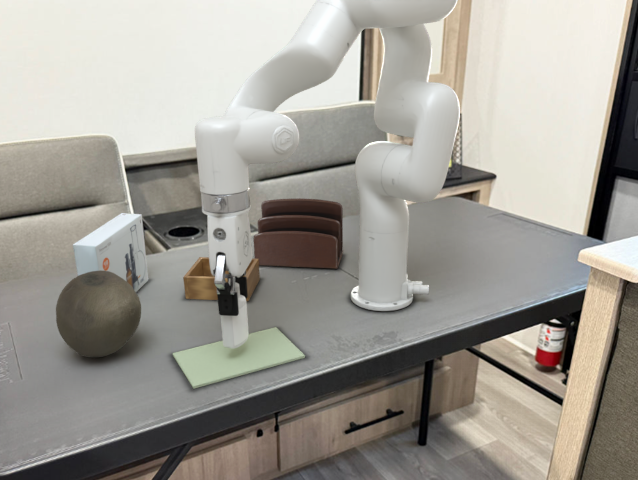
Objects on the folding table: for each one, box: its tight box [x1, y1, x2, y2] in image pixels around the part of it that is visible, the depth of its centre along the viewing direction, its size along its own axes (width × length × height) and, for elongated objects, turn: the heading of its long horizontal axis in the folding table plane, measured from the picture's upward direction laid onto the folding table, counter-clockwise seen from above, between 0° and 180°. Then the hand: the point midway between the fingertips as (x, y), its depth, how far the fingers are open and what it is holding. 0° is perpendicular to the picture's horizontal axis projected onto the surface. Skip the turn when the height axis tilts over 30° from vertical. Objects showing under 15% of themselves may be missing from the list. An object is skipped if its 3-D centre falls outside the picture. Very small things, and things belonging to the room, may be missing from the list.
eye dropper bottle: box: [220, 278, 250, 349], centre depth 101 cm, size 4×6×12 cm
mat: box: [172, 326, 306, 390], centre depth 105 cm, size 20×12×1 cm, turn 116°
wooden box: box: [182, 256, 261, 302], centre depth 130 cm, size 14×12×5 cm
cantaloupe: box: [55, 270, 142, 358], centre depth 105 cm, size 14×14×15 cm
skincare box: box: [72, 212, 150, 293], centre depth 125 cm, size 21×5×16 cm, turn 168°
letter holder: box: [252, 198, 344, 270], centre depth 142 cm, size 10×20×14 cm, turn 78°
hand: (233, 305), depth 101 cm, fingers closed on eye dropper bottle, 5 cm apart
